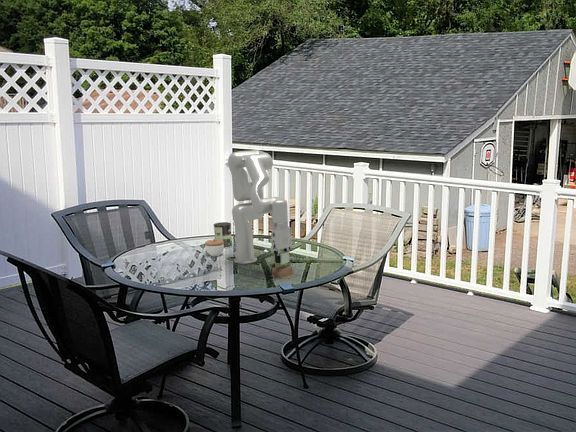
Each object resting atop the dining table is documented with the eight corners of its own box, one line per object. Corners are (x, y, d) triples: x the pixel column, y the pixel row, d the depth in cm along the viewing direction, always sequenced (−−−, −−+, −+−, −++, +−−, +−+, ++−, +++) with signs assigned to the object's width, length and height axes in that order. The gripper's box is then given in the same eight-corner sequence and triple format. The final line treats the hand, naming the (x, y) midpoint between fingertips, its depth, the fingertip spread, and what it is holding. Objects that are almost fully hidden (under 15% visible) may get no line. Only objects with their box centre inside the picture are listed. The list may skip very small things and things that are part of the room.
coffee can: (233, 244, 368) (231, 221, 365) (231, 248, 357) (230, 225, 355) (216, 245, 368) (214, 222, 365) (214, 249, 358) (212, 225, 355)
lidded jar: (221, 251, 351) (220, 236, 349) (227, 255, 341) (226, 239, 339) (203, 254, 346) (202, 238, 344) (209, 258, 337) (208, 242, 335)
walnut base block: (272, 275, 295) (271, 267, 294) (282, 272, 300) (281, 264, 299) (282, 278, 290) (282, 270, 289) (292, 274, 295) (292, 266, 294)
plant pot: (284, 271, 307) (283, 254, 305) (268, 268, 312) (268, 252, 310) (293, 266, 314) (293, 250, 313) (278, 264, 319) (277, 248, 318)
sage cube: (274, 262, 293) (274, 252, 292) (281, 260, 297) (281, 250, 296) (282, 264, 290) (281, 254, 289) (289, 262, 293) (288, 252, 292)
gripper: (273, 229, 281) (275, 266, 285) (297, 222, 293) (299, 259, 297) (262, 227, 286) (264, 264, 290) (286, 221, 298) (288, 256, 302)
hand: (281, 261), depth 293 cm, fingers closed on sage cube, 5 cm apart
